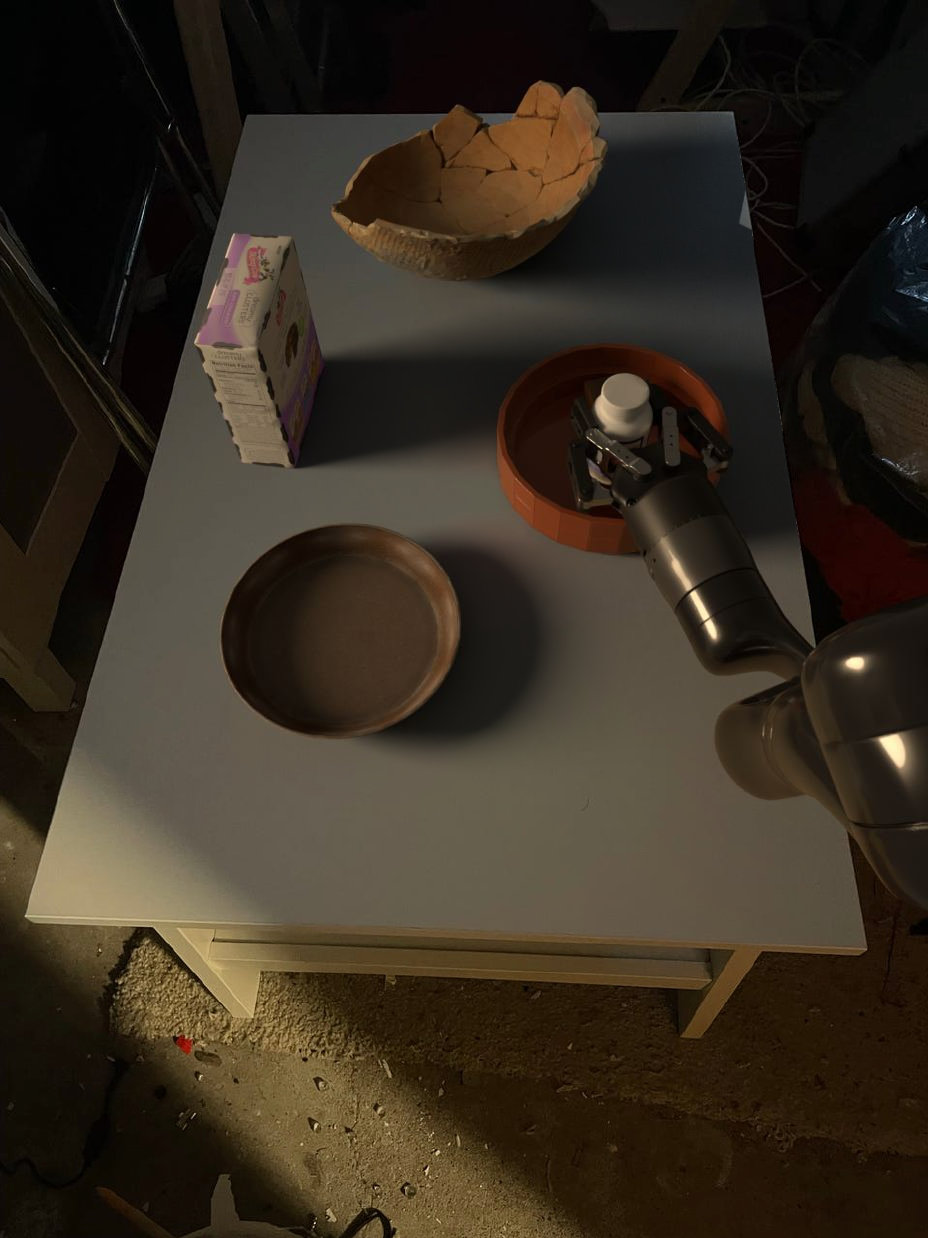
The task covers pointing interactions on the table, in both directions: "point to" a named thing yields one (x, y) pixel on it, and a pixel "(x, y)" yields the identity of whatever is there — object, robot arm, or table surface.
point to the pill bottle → (622, 415)
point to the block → (594, 389)
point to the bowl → (544, 429)
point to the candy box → (262, 349)
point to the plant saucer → (340, 631)
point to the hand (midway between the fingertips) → (609, 395)
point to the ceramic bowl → (477, 187)
